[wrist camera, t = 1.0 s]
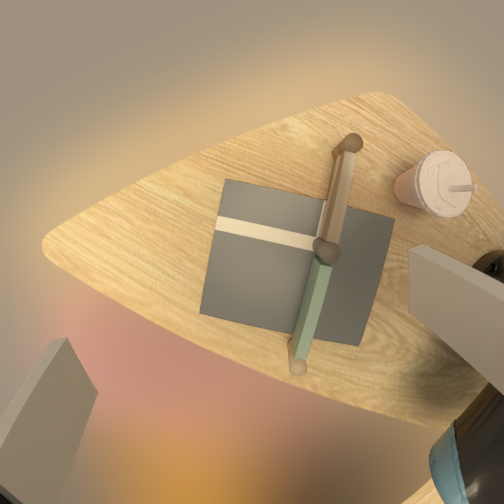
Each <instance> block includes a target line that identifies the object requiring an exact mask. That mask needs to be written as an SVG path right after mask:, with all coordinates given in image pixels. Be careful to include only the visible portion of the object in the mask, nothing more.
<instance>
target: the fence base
mask: <svg viewBox="0 0 504 504" xmlns="http://www.w3.org/2000/svg"><path fill="white" fill-rule="evenodd" d="M362 147H363V140H362V138H361V137H360V136H359V135H358V134H355V133H351V134H349V135H347V136H346V137H345V138H344V139H343V140H342V141H341V142H340V143H339V144H338V145H337V146H336V147H335V148H334V149H333V152H332V155H333V158H334V159H335V161H334V166H333V171H332V176H331V181H330V186H329V191H328V195H327V200H326V205H325V209H324V214H323V219H322V223H321V227H320V232H319V237H318V238H316V239H315V240H314V241H313V244H312V248H313V250H314V252H315V253H316V254H317V255H318V256H319V257H320V258H321V259H322V260H323V261H324V262H325V263H327V264H334V263H336V262H337V261H338V260H339V259H340V257H341V250H340V248H339V246H338V245H337V244H338V243H339V238H340V234H341V230H342V225H343V221H344V217H345V212H346V207H347V203H348V198H349V193H350V188H351V183H352V178H353V173H354V167H355V162H356V157H357V154H355V153H356V152H358V151H359V150H361V149H362ZM335 243H337V244H335Z"/></svg>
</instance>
